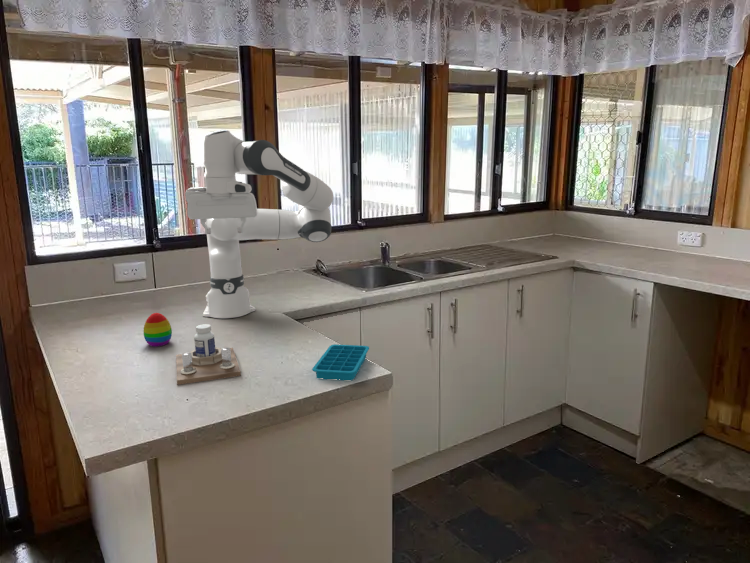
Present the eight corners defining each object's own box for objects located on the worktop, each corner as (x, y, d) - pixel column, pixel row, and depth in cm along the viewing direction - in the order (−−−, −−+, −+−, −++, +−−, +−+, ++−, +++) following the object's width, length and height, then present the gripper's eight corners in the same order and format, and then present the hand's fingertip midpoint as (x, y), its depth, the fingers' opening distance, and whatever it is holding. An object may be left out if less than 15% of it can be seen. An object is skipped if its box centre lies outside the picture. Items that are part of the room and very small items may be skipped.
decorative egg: (178, 342, 176) (175, 311, 173) (156, 349, 169) (153, 318, 167) (161, 338, 180) (157, 308, 177) (139, 345, 173) (135, 314, 171)
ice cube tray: (311, 381, 145) (310, 370, 144) (331, 353, 164) (331, 344, 163) (355, 383, 142) (354, 372, 142) (370, 355, 162) (370, 345, 161)
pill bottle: (213, 354, 161) (211, 322, 158) (218, 360, 156) (215, 327, 154) (194, 358, 158) (191, 325, 156) (198, 364, 153) (195, 330, 151)
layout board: (176, 358, 161) (175, 348, 160) (233, 351, 166) (232, 341, 166) (177, 384, 143) (176, 373, 142) (240, 375, 148) (240, 364, 147)
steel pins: (180, 370, 149) (178, 352, 148) (233, 362, 154) (232, 345, 153) (180, 375, 146) (178, 357, 144) (235, 368, 150) (234, 350, 149)
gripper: (182, 188, 161) (186, 236, 164) (254, 186, 163) (257, 233, 166) (186, 187, 167) (190, 233, 170) (256, 185, 169) (259, 230, 172)
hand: (224, 233), depth 168 cm, fingers open, 8 cm apart
